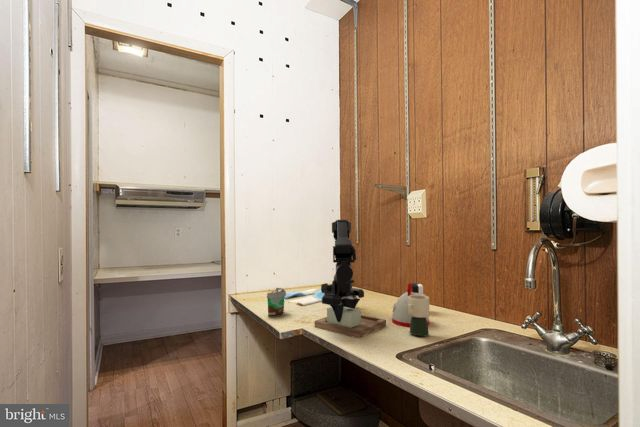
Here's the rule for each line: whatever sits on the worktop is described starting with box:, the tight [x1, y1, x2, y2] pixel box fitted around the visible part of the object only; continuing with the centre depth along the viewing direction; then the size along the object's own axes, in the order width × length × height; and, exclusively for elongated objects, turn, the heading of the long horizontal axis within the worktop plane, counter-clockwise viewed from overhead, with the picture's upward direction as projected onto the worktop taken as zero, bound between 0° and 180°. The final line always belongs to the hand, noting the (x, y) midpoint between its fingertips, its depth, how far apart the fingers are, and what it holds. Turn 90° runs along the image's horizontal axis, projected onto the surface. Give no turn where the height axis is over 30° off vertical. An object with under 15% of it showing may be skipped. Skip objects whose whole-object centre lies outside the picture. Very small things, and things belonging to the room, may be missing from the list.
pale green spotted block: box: [326, 306, 362, 328], centre depth 125 cm, size 6×11×5 cm, turn 49°
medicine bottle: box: [411, 283, 426, 296], centre depth 148 cm, size 7×7×12 cm
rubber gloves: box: [285, 288, 335, 307], centre depth 180 cm, size 27×33×6 cm
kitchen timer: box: [391, 282, 430, 329], centre depth 132 cm, size 14×14×15 cm
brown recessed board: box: [314, 314, 387, 339], centre depth 128 cm, size 18×20×2 cm
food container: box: [266, 287, 287, 318], centre depth 146 cm, size 12×6×10 cm, turn 168°
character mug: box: [408, 295, 430, 337], centre depth 117 cm, size 11×7×13 cm, turn 127°
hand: (344, 319), depth 125 cm, fingers closed on pale green spotted block, 6 cm apart
